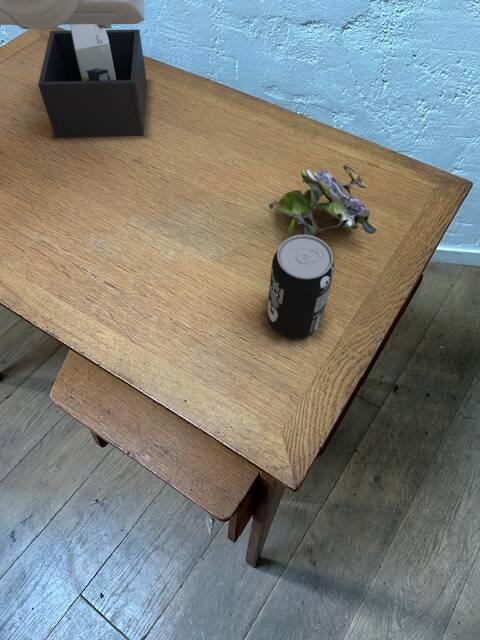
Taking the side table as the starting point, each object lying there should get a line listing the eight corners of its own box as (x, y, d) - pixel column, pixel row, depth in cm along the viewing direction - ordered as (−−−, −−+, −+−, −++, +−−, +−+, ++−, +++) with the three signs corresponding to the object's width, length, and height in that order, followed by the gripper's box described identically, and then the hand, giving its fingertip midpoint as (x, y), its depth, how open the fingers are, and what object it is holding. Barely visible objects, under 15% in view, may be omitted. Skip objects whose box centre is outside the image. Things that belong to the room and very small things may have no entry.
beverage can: (258, 305, 68) (263, 240, 58) (307, 290, 69) (320, 224, 59) (279, 349, 64) (288, 288, 54) (329, 332, 66) (348, 270, 56)
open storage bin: (55, 137, 84) (37, 84, 76) (65, 84, 91) (50, 30, 83) (143, 135, 84) (135, 82, 77) (146, 82, 92) (139, 29, 84)
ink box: (85, 88, 89) (67, 15, 79) (115, 84, 89) (101, 11, 80) (91, 122, 84) (73, 48, 74) (123, 117, 85) (109, 43, 75)
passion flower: (336, 246, 80) (399, 219, 70) (286, 277, 74) (346, 253, 64) (301, 176, 79) (359, 138, 69) (247, 202, 73) (302, 165, 63)
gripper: (136, -59, 54) (150, -7, 68) (-77, -59, 53) (-20, -6, 67) (140, 11, 56) (153, 48, 69) (-68, 12, 55) (-14, 50, 68)
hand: (67, 21), depth 68 cm, fingers open, 8 cm apart
